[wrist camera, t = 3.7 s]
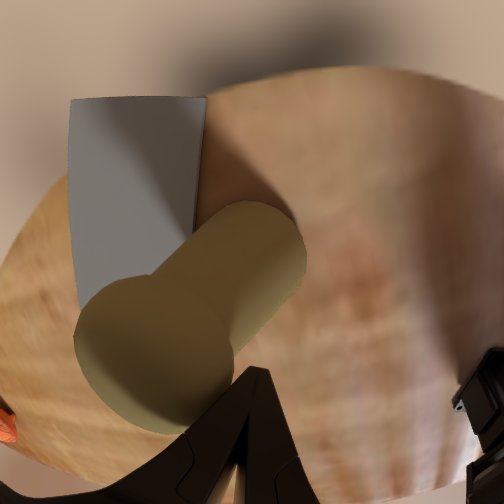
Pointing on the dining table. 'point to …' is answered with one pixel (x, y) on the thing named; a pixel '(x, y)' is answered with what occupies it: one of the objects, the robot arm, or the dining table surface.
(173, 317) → the cork
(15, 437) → the pot
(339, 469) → the dining table surface
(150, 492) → the robot arm
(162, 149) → the mat
